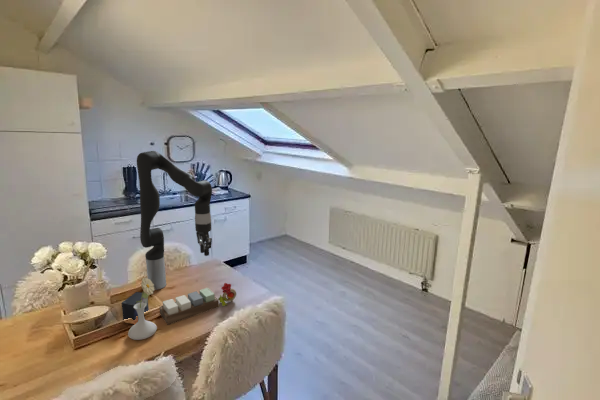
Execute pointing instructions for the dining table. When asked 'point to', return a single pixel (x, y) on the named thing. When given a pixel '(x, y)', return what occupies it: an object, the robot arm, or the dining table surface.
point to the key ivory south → (170, 307)
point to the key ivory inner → (183, 302)
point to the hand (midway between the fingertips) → (204, 253)
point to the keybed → (188, 311)
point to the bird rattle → (229, 292)
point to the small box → (129, 304)
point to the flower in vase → (142, 326)
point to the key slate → (195, 298)
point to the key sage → (207, 295)
